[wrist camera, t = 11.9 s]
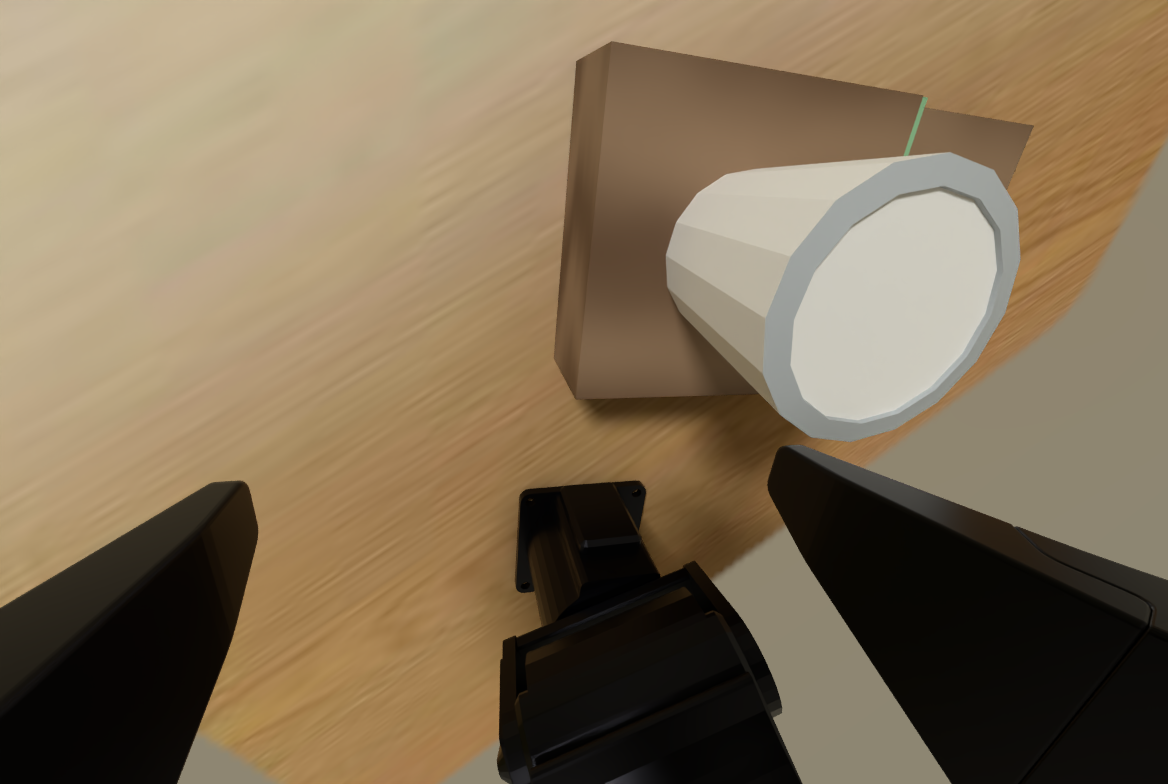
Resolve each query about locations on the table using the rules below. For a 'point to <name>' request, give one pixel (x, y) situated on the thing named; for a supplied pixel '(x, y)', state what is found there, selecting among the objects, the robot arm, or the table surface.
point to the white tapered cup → (848, 283)
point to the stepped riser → (688, 165)
